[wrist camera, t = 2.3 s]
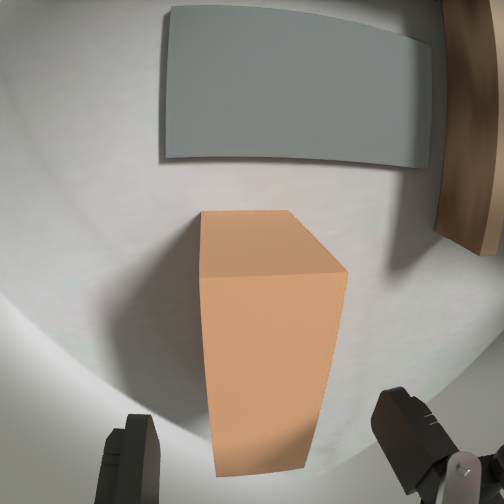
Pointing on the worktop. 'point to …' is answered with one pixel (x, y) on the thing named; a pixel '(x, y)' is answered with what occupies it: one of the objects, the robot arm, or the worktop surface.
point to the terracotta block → (265, 336)
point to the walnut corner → (474, 126)
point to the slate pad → (295, 88)
